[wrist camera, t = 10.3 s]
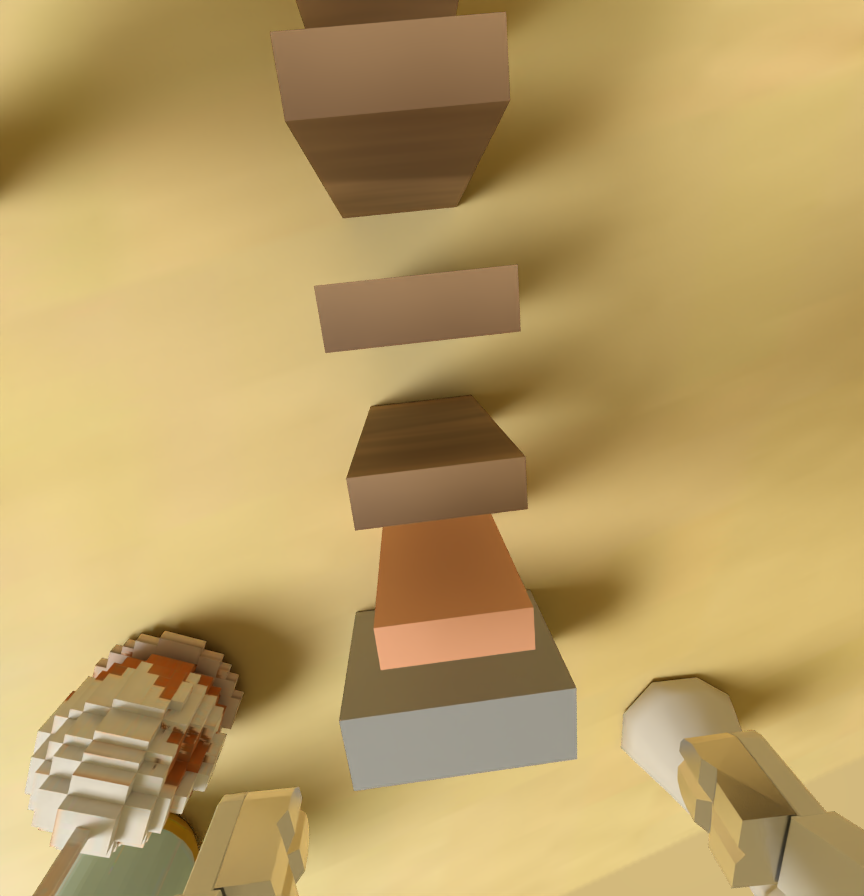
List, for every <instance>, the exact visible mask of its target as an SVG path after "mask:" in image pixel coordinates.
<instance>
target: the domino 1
mask: <svg viewBox="0 0 864 896" xmlns="http://www.w3.org/2000/svg"><path fill="white" fill-rule="evenodd" d="M296 2H297V5H298V8H299V11H300V14H301V17H302V20H303V23H304V26H305V29H309V28H321V27H333V26H344V25H356V24H368V23H379V22H391V21H403V20H414V19H426V18H438V17H449V16H456V11H457V6H458V0H296Z"/></svg>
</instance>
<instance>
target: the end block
mask: <svg viewBox="0 0 864 896" xmlns="http://www.w3.org/2000/svg"><path fill="white" fill-rule="evenodd" d="M526 592H527V594H528V596H529V598H530V601H531V603H532V605H533V607H534V629H535V650H527V651H520V652H512V653H505V654H497V655H490V656H483V657H475V658H468V659H460V660H453V661H445V662H438V663H431V664H423V665H416V666H408V667H401V668H393V669H386V670H381V669H380V663H379V658H378V652H377V646H376V640H375V634H374V618H375V610H371V611H363V612H356V615H355V622H354V628H353V635H352V641H351V648H350V654H349V661H348V667H347V674H346V680H345V687H344V693H343V700H342V706H341V713H340V719H339V722H340V727H341V732H342V737H343V741H344V746H345V751H346V755H347V760H348V765H349V769H350V774H351V779H352V783H353V788H354V791H358V790H365V789H372V788H379V787H386V786H393V785H400V784H407V783H414V782H420V781H427V780H434V779H441V778H448V777H455V776H462V775H469V774H476V773H483V772H490V771H497V770H504V769H511V768H518V767H525V766H532V765H539V764H546V763H552V762H559V761H566V760H573V759H577V702H576V686H575V684H574V682H573V680H572V678H571V676H570V674H569V671H568V669H567V667H566V665H565V663H564V661H563V659H562V657H561V654H560V652H559V650H558V648H557V646H556V644H555V642H554V640H553V637H552V635H551V633H550V631H549V629H548V627H547V625H546V623H545V620H544V618H543V616H542V614H541V612H540V610H539V608H538V605H537V603H536V601H535V599H534V597H533V595H532V593H531V591H530V590H526Z"/></svg>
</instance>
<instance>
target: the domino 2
mask: <svg viewBox="0 0 864 896" xmlns="http://www.w3.org/2000/svg"><path fill="white" fill-rule="evenodd" d="M270 35H271V41H272V47H273V53H274V59H275V65H276V70H277V76H278V82H279V88H280V94H281V100H282V105H283V111H284V117H285V122H286V123H287V125H288V127H289V128H290V130H291V132H292V133H293V135H294V137H295V139H296V140H297V142H298V144H299V145H300V147H301V149H302V150H303V152H304V154H305V155H306V157H307V159H308V160H309V162H310V164H311V165H312V167H313V169H314V170H315V172H316V174H317V176H318V177H319V179H320V181H321V182H322V184H323V186H324V187H325V189H326V191H327V192H328V194H329V196H330V197H331V199H332V201H333V202H334V204H335V206H336V207H337V209H338V211H339V213H340V214H341V216H342V218H350V217H360V216H370V215H380V214H390V213H400V212H410V211H420V210H430V209H440V208H450V207H457V205H458V203H459V201H460V199H461V197H462V195H463V193H464V191H465V189H466V187H467V185H468V183H469V181H470V179H471V177H472V175H473V173H474V171H475V169H476V167H477V165H478V163H479V161H480V159H481V157H482V155H483V153H484V151H485V149H486V147H487V145H488V143H489V141H490V139H491V137H492V135H493V133H494V131H495V129H496V127H497V125H498V123H499V121H500V119H501V117H502V115H503V113H504V111H505V109H506V107H507V105H508V103H509V101H510V89H509V66H508V44H507V21H506V12H496V13H484V14H473V15H461V16H449V17H438V18H426V19H414V20H403V21H391V22H379V23H368V24H356V25H344V26H333V27H321V28H309V29H298V30H286V31H274V32H270Z"/></svg>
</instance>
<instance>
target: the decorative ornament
mask: <svg viewBox="0 0 864 896" xmlns="http://www.w3.org/2000/svg"><path fill="white" fill-rule="evenodd" d="M205 644H206V641H204V640H200V639H196V638H192V637H188V636H184V635H180V634H176V633H172V632H168V631H164V633H163V634H162V635H161V637H160V638H158V637H154V636H150V635H146V634H141V635H140V636H139V637H138V639H137V640H136V641H135V640H131V639H129V640H128V641H127V642H126V643H125V644H124V646H121V645H117V644H116V646H115V647H114V648H113V649H112V650H111V651H110V654H109V658H108V659H104V658H102V659H101V660H100V661H99V662H98V663H97V664H96V665H95V669H94V674H93V677H88V678H87V679H86V680H85V681H84V682H83V683H82V685H81V686H80V687H79V688H78V689H77V690H76V691H73V692H72V693H71V694H70V695H69V696H68V697H67V698H66V700H65V701H64V702H63V703H62V704H61V705H60V706H59V708H58V709H57V710H56V711H55V712H54V713H53V714H52V715H51V717H50V718H49V719H48V720H47V721H46V722H45V723H44V725H43V726H42V727H41V728H40V729H39V730H38V733H37V739H36V744H35V749H34V754H33V756H32V757H31V762H30V767H29V773H28V778H27V783H26V788H25V794H29V795H31V796H30V801H29V806H28V810H32V811H34V816H33V821H32V827H38V830H42V831H48V832H53V833H52V837H51V842H50V846H51V847H56V849H59V850H61V852H60V853H59V855H58V857H57V858H56V860H55V861H54V863H53V864H52V866H51V868H50V869H49V871H48V872H47V874H46V875H45V877H44V879H43V880H42V882H41V883H40V885H39V886H38V888H37V890H36V891H35V893H34V894H33V896H54V895H55V894H56V892H57V890H58V889H59V887H60V885H61V884H62V882H63V880H64V879H65V877H66V875H67V874H68V872H69V870H70V869H71V867H72V865H73V864H74V862H75V860H76V859H77V857H78V855H79V854H80V853H82V854H88V855H94V856H100V857H106V858H110V856H111V854H112V853H113V852H115V851H116V849H117V847H118V846H121V844H122V845H127V846H133V847H139V848H143V847H144V845H145V843H146V842H148V840H149V838H150V835H151V833H152V832H154V833H159V834H161V832H162V829H163V827H164V825H165V823H166V821H167V819H168V817H169V814H170V812H172V813H177V814H182V812H183V810H184V808H185V806H186V803H187V801H188V799H189V798H190V796H191V794H192V792H193V790H197V791H202V792H204V791H205V789H206V788H207V785H208V783H209V781H210V778H211V776H212V773H213V771H214V768H215V766H216V763H217V760H218V757H219V755H220V752H221V750H222V747H223V744H224V741H225V738H226V735H227V734H225V733H220V732H221V729H222V727H223V728H228V729H231V727H232V725H233V723H234V720H235V717H236V714H237V711H238V708H239V705H240V702H241V699H242V696H243V693H244V692H242V691H238V690H234V689H235V686H236V683H237V680H238V677H239V674H235V673H231V672H230V669H231V665H232V664H228V663H224V662H222V660H223V657H224V654H221V653H217V652H213V651H209V650H205V649H204V648H205Z"/></svg>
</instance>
